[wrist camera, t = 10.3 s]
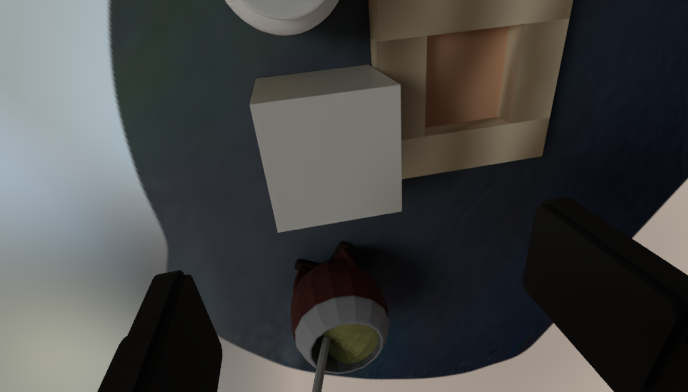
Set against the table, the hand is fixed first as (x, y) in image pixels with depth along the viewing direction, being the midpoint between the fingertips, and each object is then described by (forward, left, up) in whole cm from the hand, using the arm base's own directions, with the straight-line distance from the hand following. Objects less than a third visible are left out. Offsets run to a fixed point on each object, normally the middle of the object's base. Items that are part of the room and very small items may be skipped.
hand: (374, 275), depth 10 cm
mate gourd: (+1, +14, -16) cm, 21 cm away
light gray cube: (0, +1, -16) cm, 16 cm away
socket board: (-10, -1, -16) cm, 19 cm away
